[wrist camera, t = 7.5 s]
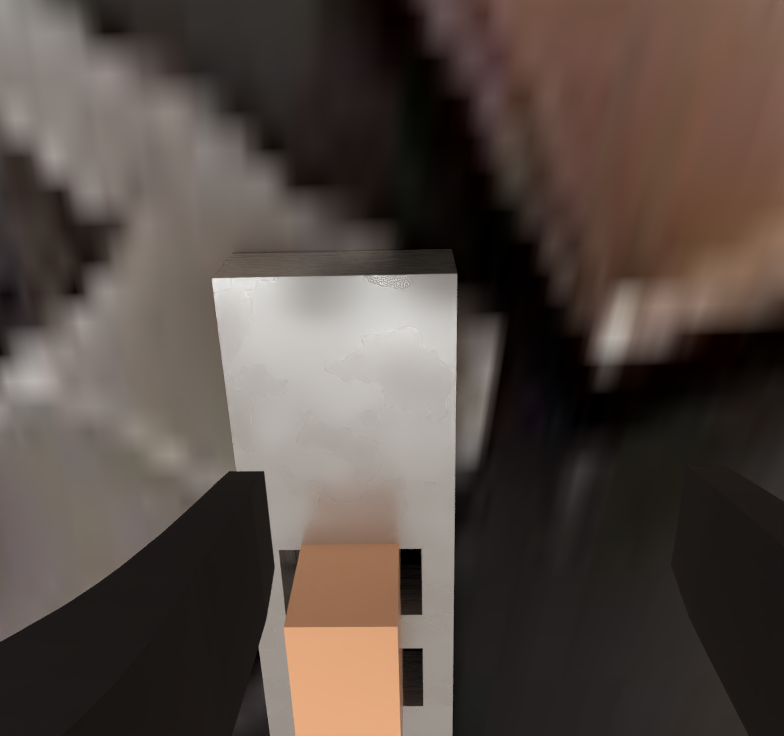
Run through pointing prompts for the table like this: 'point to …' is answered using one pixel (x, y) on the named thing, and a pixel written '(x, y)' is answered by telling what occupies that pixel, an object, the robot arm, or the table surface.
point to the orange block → (346, 641)
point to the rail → (350, 435)
